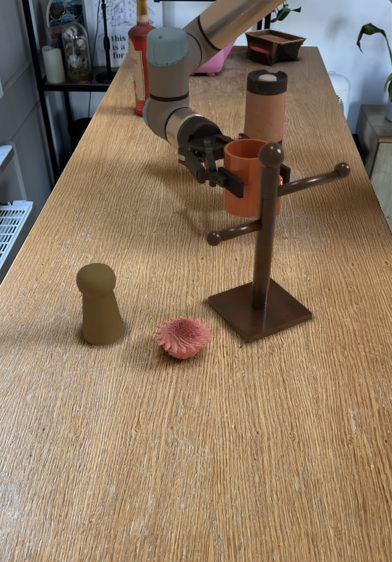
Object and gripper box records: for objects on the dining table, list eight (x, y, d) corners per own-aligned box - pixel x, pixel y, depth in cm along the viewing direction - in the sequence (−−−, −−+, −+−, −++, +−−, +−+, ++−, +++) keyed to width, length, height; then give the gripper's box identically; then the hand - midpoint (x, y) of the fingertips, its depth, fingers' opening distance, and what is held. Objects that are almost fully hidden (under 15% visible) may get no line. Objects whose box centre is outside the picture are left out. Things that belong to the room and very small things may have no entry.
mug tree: (306, 269, 95) (328, 109, 78) (351, 305, 88) (387, 136, 71) (187, 311, 87) (183, 142, 70) (226, 354, 80) (233, 177, 63)
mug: (214, 202, 101) (214, 145, 95) (253, 190, 104) (256, 135, 98) (255, 234, 93) (259, 174, 86) (297, 221, 96) (304, 162, 89)
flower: (217, 339, 82) (218, 307, 79) (205, 378, 77) (205, 346, 73) (163, 331, 84) (161, 300, 80) (147, 369, 78) (144, 337, 74)
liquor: (130, 111, 150) (120, -16, 132) (157, 107, 152) (151, -19, 134) (139, 121, 145) (129, -10, 126) (167, 117, 147) (161, -13, 128)
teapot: (166, 78, 170) (164, 30, 161) (171, 65, 179) (169, 19, 171) (235, 79, 169) (237, 30, 160) (236, 66, 178) (238, 19, 169)
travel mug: (252, 189, 117) (259, 83, 104) (235, 173, 122) (239, 71, 109) (286, 181, 119) (296, 78, 106) (267, 167, 125) (275, 66, 111)
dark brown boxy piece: (275, 57, 192) (272, 23, 186) (312, 61, 179) (310, 24, 173) (239, 68, 187) (236, 33, 181) (275, 73, 174) (272, 36, 168)
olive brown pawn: (123, 318, 86) (116, 254, 79) (127, 345, 82) (119, 279, 74) (82, 323, 85) (70, 258, 78) (83, 350, 81) (71, 284, 74)
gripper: (242, 144, 114) (315, 189, 99) (144, 168, 107) (208, 221, 92) (243, 104, 109) (320, 146, 95) (141, 127, 102) (208, 176, 87)
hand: (265, 183), depth 93 cm, fingers closed on mug, 8 cm apart
